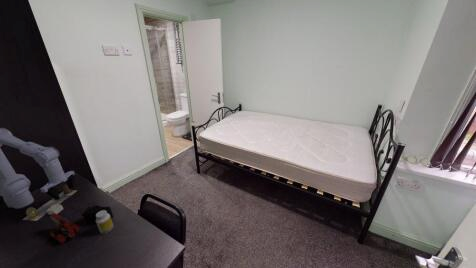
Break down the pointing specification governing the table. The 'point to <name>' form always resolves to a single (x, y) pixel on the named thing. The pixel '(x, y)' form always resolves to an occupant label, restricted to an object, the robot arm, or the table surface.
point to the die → (54, 209)
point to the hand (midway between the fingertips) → (64, 193)
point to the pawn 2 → (66, 189)
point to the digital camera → (94, 213)
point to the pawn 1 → (32, 213)
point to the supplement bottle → (104, 222)
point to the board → (50, 205)
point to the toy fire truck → (63, 228)
